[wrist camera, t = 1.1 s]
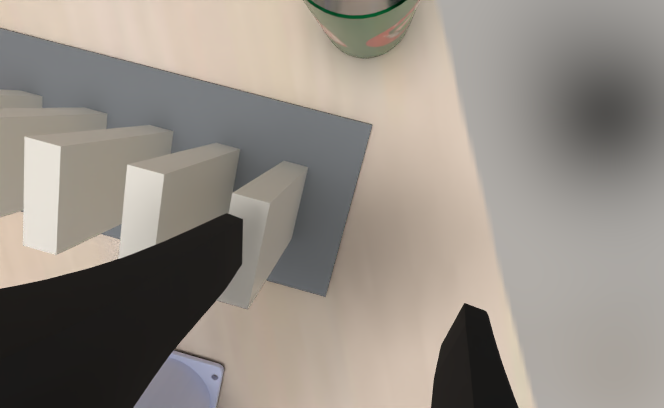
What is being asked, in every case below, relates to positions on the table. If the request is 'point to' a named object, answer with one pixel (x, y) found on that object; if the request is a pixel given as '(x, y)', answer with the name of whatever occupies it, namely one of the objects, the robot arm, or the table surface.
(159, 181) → the domino
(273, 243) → the domino
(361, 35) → the soda can
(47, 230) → the domino
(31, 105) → the domino
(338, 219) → the felt mat
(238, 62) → the table surface
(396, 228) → the table surface
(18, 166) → the domino
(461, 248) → the table surface
